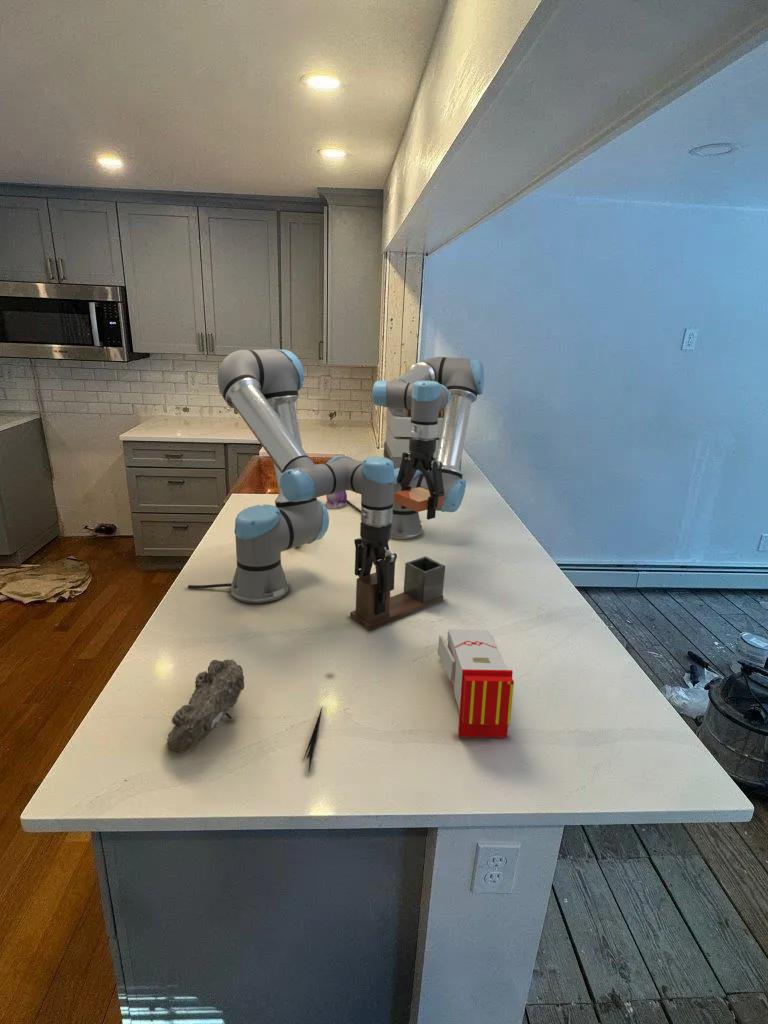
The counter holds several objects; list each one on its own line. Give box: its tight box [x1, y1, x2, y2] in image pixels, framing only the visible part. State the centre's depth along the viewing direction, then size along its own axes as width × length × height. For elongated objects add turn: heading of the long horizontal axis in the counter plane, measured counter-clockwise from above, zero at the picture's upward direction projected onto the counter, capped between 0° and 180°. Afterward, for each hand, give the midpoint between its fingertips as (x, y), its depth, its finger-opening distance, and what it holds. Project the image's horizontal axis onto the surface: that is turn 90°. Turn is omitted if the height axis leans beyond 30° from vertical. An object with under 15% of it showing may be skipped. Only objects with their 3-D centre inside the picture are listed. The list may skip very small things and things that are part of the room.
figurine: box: [325, 490, 348, 509], centre depth 223 cm, size 9×10×15 cm
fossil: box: [166, 658, 245, 754], centre depth 106 cm, size 22×10×15 cm
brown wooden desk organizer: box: [349, 556, 446, 631], centre depth 148 cm, size 8×26×12 cm, turn 131°
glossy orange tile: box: [394, 487, 444, 513], centre depth 164 cm, size 10×10×4 cm
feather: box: [301, 673, 332, 771], centre depth 108 cm, size 2×28×2 cm
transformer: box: [383, 407, 463, 472], centre depth 268 cm, size 34×33×41 cm
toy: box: [437, 628, 515, 738], centre depth 117 cm, size 12×13×30 cm
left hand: (372, 607), depth 143 cm, fingers closed on brown wooden desk organizer, 5 cm apart
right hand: (417, 513), depth 165 cm, fingers closed on glossy orange tile, 10 cm apart
